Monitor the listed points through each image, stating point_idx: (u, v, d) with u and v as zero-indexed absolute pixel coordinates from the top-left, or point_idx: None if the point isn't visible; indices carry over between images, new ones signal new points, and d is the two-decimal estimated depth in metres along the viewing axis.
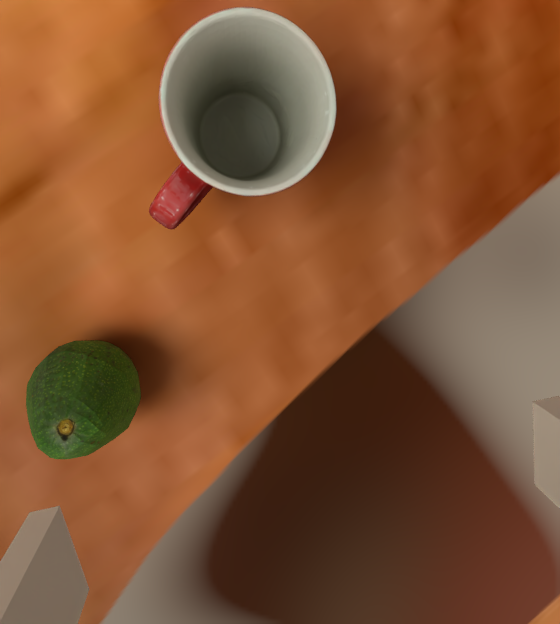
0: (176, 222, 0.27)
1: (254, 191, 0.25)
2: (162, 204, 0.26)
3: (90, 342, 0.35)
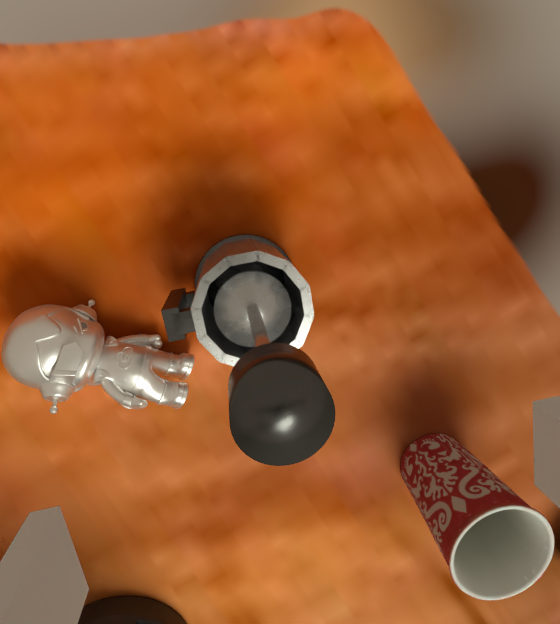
0: None
1: (552, 549, 0.38)
2: None
3: None
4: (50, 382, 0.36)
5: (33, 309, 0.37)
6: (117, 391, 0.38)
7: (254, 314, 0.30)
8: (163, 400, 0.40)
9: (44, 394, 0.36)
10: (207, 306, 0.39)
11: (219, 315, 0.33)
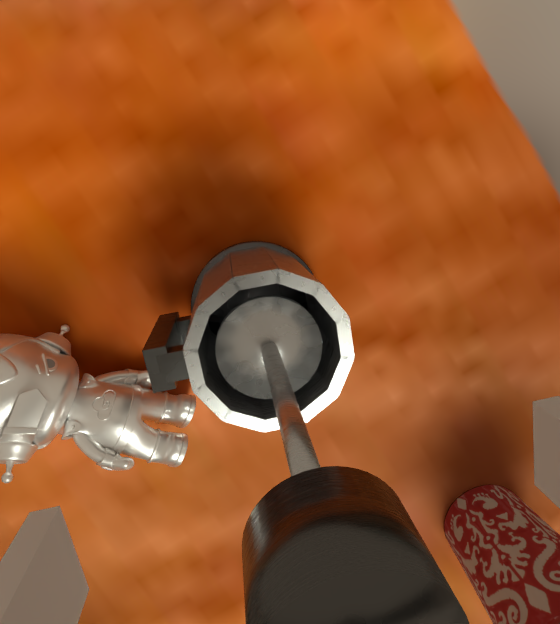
0: None
1: None
2: None
3: None
4: (2, 442, 0.27)
5: None
6: (94, 448, 0.29)
7: (273, 361, 0.21)
8: (155, 457, 0.31)
9: None
10: (207, 337, 0.29)
11: (223, 357, 0.24)
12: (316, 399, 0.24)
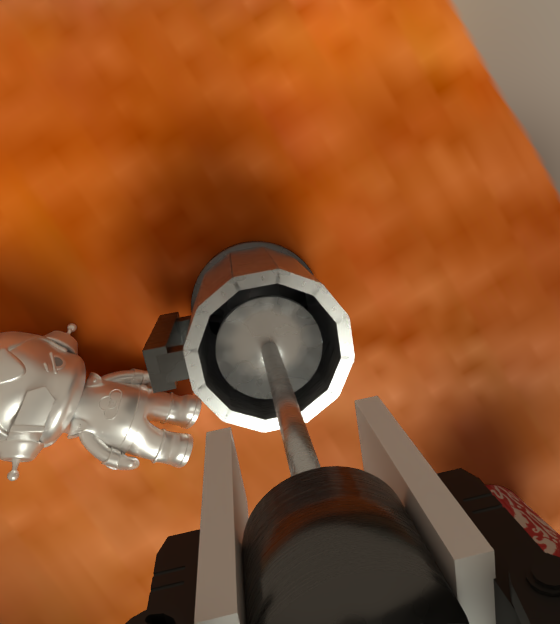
0: None
1: None
2: None
3: None
4: (9, 439, 0.27)
5: None
6: (100, 448, 0.29)
7: (273, 361, 0.21)
8: (160, 457, 0.31)
9: (1, 454, 0.27)
10: (207, 337, 0.29)
11: (223, 357, 0.24)
12: (316, 399, 0.24)
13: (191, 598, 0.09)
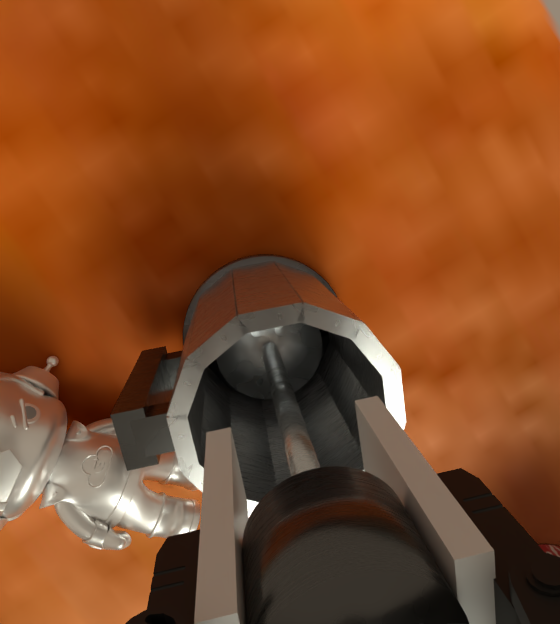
0: None
1: None
2: None
3: None
4: None
5: None
6: (81, 522, 0.23)
7: (273, 361, 0.21)
8: (157, 531, 0.25)
9: None
10: (202, 381, 0.23)
11: (223, 357, 0.24)
12: None
13: (191, 598, 0.09)
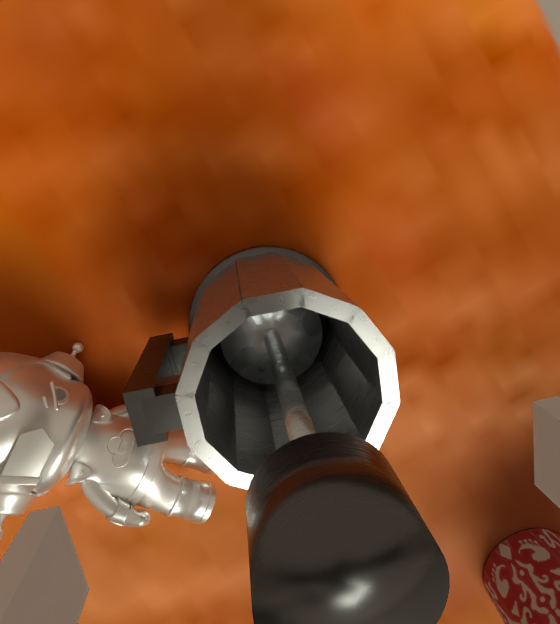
0: None
1: None
2: None
3: None
4: None
5: None
6: (105, 500, 0.24)
7: (275, 347, 0.22)
8: (175, 511, 0.26)
9: None
10: (207, 365, 0.24)
11: (227, 343, 0.25)
12: None
13: None
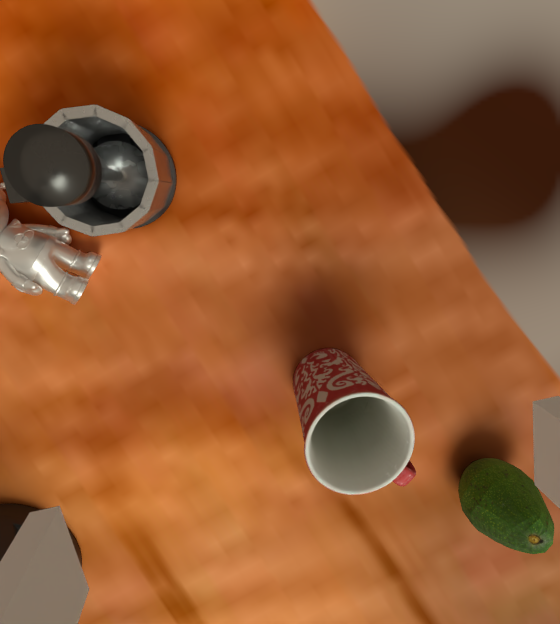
0: (415, 472, 0.41)
1: (412, 442, 0.37)
2: (405, 483, 0.40)
3: (464, 494, 0.50)
4: None
5: None
6: (11, 271, 0.38)
7: None
8: (60, 291, 0.40)
9: None
10: None
11: None
12: (131, 212, 0.33)
13: None
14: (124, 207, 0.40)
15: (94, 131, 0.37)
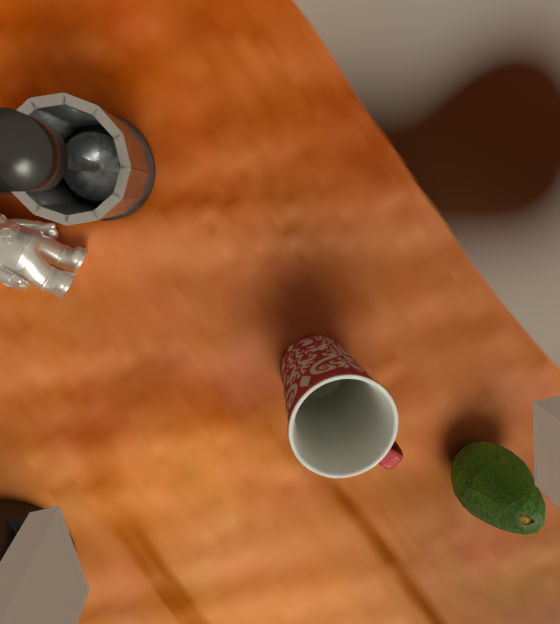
0: (401, 455, 0.40)
1: (396, 424, 0.37)
2: (392, 465, 0.40)
3: (456, 477, 0.50)
4: None
5: None
6: None
7: None
8: (46, 285, 0.40)
9: None
10: None
11: (65, 170, 0.39)
12: (105, 200, 0.33)
13: None
14: (102, 198, 0.40)
15: (68, 122, 0.37)
